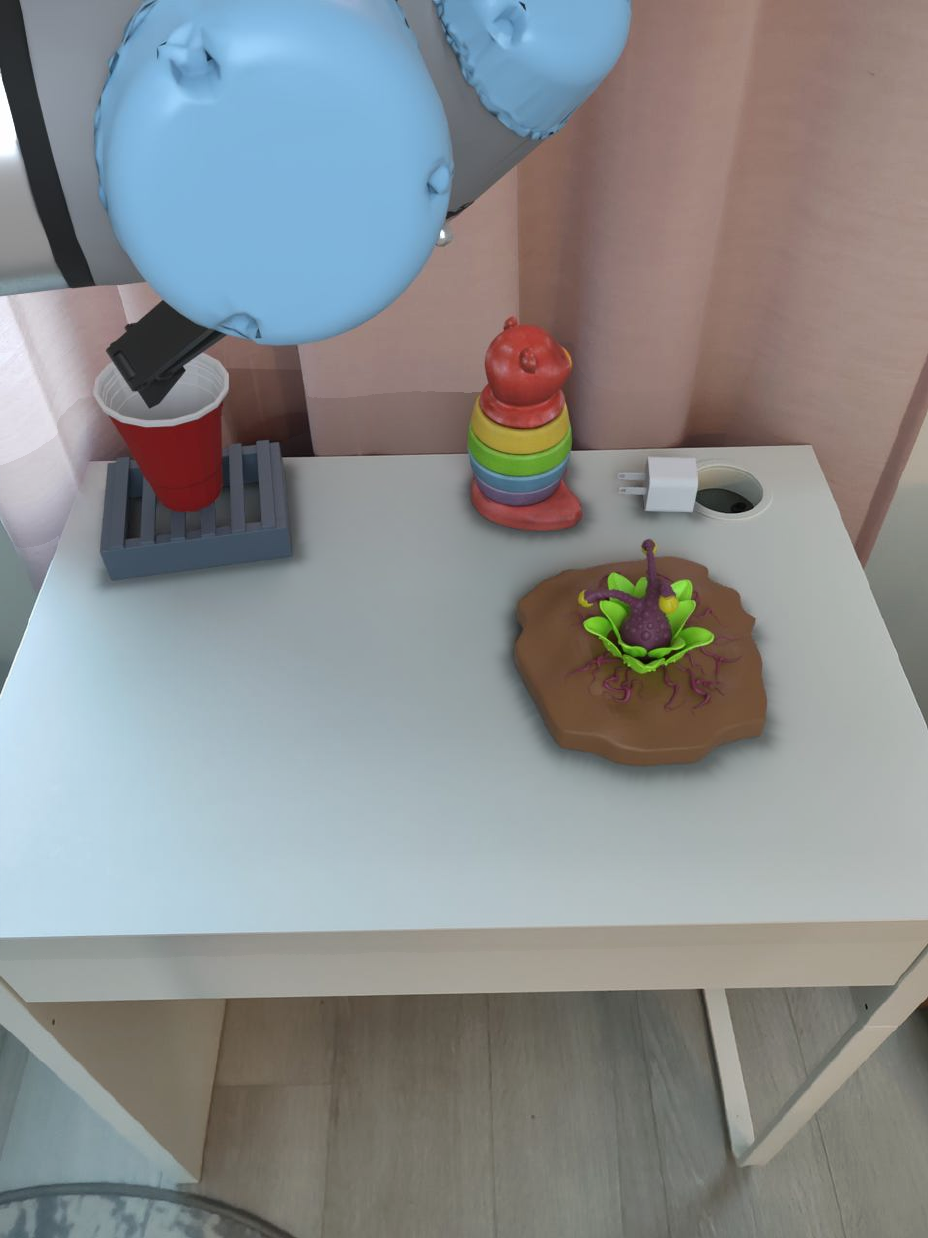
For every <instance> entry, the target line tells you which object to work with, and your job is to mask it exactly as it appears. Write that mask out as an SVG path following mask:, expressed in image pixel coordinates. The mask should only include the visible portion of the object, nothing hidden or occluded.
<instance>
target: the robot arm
mask: <svg viewBox="0 0 928 1238" xmlns="http://www.w3.org/2000/svg"><path fill="white" fill-rule="evenodd" d="M631 6H632V0H0V297H5V296H6V297H7V296H8V297H9V296H17V295H24V294H25V295H26V294H33V293H40V292H41V293H42V292H49V291H58V290H65V289H82V288H91V287H100V286H101V287H102V286H104V287H105V286H125V285H132V284H140V283H147V284H148V286H149V287H150V288H151V289H152V291H154V292H155V293H156V295H158V296H159V298H160V299H162V300H161V301H159V302H158V303H157V304H156V305H155V306H154V307H153V308H152V309H150V310H149V311H148V312H147V313H146V314H145V315H143V316H142V317H141V318H140V319H139V320H138V321H137V322H132V323H127V324H126V325H125V326H124V327H123V328H124V330H125V332H124V333H123V334H121V336H120V337H118V338H117V339H116V340H114V341H113V342H111V343H110V344H109V346H108V347H107V348H106V349H105V352H106V354H107V355H108V357H109V359H110V360H111V362H113V363H114V364H115V366H116V368H117V369H118V371H119V372H120V374H121V375H122V377H123V378H124V380H125V381H126V383H127V384H128V386H129V387H130V389H131V390H132V391H135V392H136V391H138V392H139V394H140V396H141V397H142V399H143V400H144V402H145V403H146V405H147V406H148V408H149V409H150V408H152V407H154V406H156V405H158V404H160V403H161V401H162V400H163V399H164V398H165V396H166V395H167V394H168V393H169V391H170V390H171V389H172V388H173V386H174V385H175V384H176V383H177V381H178V380H179V379H180V378H181V376H182V375H183V374H184V373H185V371H186V370H185V368H184V367H183V366H184V365H185V364H187V363H188V362H190V361H191V360H192V359H194V358H195V357H197V356H198V355H200V354H201V353H202V352H203V353H204V352H205V351H207V350H208V349H209V348H211V347H212V346H214V345H215V344H216V343H218V342H220V341H221V340H222V339H224V338H226V336H231V337H235V338H239V339H243V340H247V341H253V342H254V343H255V344H257V345H260V346H273V347H275V346H276V347H279V346H299V345H305V344H311V343H312V344H313V343H316V342H321V341H325V340H329V339H332V338H334V337H338V336H341V335H342V334H345V333H348V332H349V331H351V330H355V329H356V328H358V327H360V326H361V325H363V324H365V323H367V322H369V321H370V320H372V319H374V318H376V317H377V316H378V315H379V314H380V313H382V312H383V311H384V310H386V309H387V308H389V307H390V306H391V305H392V304H393V303H394V302H395V301H396V300H397V299H398V298H399V297H401V295H402V294H404V292H406V291H407V289H408V288H409V287H411V285H412V283H413V282H414V281H415V280H416V278H417V277H418V276H419V275H420V273H421V272H422V271H423V269H424V267H425V266H426V264H427V263H428V261H429V259H430V258H431V256H432V254H433V252H434V249H435V248H436V247H438V248H439V247H441V248H442V247H443V248H444V247H446V246H447V245H449V244H450V243H451V242H452V241H453V239H454V232H453V229H452V228H451V227H450V225H449V224H450V223H451V221H452V220H454V219H455V218H457V217H458V216H460V215H461V214H462V213H463V212H464V211H465V210H466V209H468V208H469V207H470V206H471V205H473V204H474V203H475V201H476V200H478V199H479V198H480V197H481V196H482V195H484V194H485V193H486V192H487V191H488V190H489V189H491V188H492V187H493V186H494V185H495V184H496V183H498V181H500V180H501V179H502V178H503V177H505V175H507V174H508V173H509V172H510V171H511V170H513V169H514V168H515V167H516V166H517V165H518V164H519V163H521V161H523V160H525V158H526V157H528V155H530V154H531V153H532V152H534V151H535V150H536V149H537V148H538V147H539V146H540V145H541V144H542V143H544V142H545V141H546V140H547V139H549V138H551V137H553V136H554V135H556V134H557V133H558V132H560V131H561V130H563V128H565V126H566V124H567V122H568V121H569V119H570V118H571V116H572V115H573V114H574V113H575V112H576V111H577V110H578V109H579V108H580V107H581V106H582V104H584V103H585V102H586V100H587V99H588V98H589V97H590V96H592V94H593V93H594V92H595V91H596V90H597V89H598V88H599V86H600V85H601V83H602V82H603V81H605V79H606V78H607V76H608V75H609V73H611V71H612V70H613V69H614V68H615V66H616V64H617V63H618V61H619V59H620V58H621V56H622V54H623V52H624V49H625V47H626V44H627V42H628V38H629V33H630V27H631V20H632V15H633V13H632V7H631Z"/></svg>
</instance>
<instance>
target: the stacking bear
mask: <svg viewBox="0 0 928 1238" xmlns="http://www.w3.org/2000/svg"><path fill="white" fill-rule="evenodd" d="M572 368H573V360H572V357H571V355H570V353H569V352H568V350H567V349H565V347H563V346H562V345H560V344H559V343H558V342H557V341H556V340H554V339H553V338H552V336H551V334H549V332H547V331H546V330H545V329H544V328H542V327H539V326H537V325H533V324H519V321H518V320H517V317H516V316H510V317H508V318H507V319H506V320H505V321H504V324H503V331H501V332H500V333H498V334H497V335H496V336H495V337H494V338H493V339H492V340H491V342H490V343H489V346H488V348H487V349H486V353H485V356H484V371H485V375H486V381H487V384H486V385H485V386H484V388H482V391H481V392H480V393H479V395H478V396H477V398H476V401H475V403H474V407H473V410H472V414H471V418H470V421H469V426H468V432H467V455H468V459H469V463H470V467H471V469H472V474H473V479H472V481H471V486H470V499H471V502H472V505H473V506H474V508H475V509H476V511H477V512H478V513H479V514H480V515H481V516H483V517H484V518H485V519H487V520H489V521H490V522H493V523H495V524H497V525H500V526H504V527H508V528H512V529H518V530H525V531H532V532H533V531H534V532H549V531H558V530H559V531H561V530H565V529H570V528H573V527H575V526H576V525H577V523H578V522H580V520H581V519H582V518H583V509H582V503H581V500H580V499H579V498H578V497H577V495H576V494H574V493H573V492H572V491H571V490H570V489H569V488H568V486H567V485H566V482H565V481H564V478H565V476H566V474H567V472H568V465H569V461H570V457H571V452H572V445H573V436H572V435H573V434H572V433H573V432H572V426H571V422H570V416H569V409H568V406H567V403H566V398H565V394H564V391H563V390H562V389H561V388H562V387H563V386H564V384H565V383H566V382H567V379H568V377H569V376H570V373H571V371H572Z"/></svg>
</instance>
